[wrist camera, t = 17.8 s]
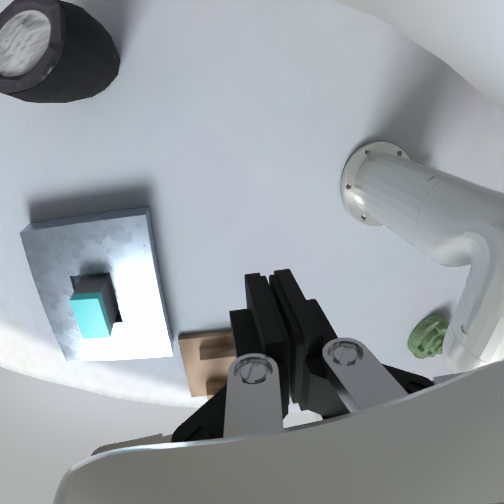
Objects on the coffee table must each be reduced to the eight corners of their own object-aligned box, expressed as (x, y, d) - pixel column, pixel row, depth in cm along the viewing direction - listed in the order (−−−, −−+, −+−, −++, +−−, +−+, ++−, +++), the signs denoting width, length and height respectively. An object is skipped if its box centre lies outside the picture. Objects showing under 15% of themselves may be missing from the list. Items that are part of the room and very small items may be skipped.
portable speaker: (50, 94, 31) (-43, 94, 14) (78, 27, 28) (3, -20, 11) (106, 111, 34) (35, 115, 16) (136, 42, 31) (91, -12, 13)
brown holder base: (253, 327, 51) (258, 343, 47) (255, 385, 57) (260, 400, 53) (178, 335, 49) (178, 352, 45) (191, 392, 55) (192, 409, 51)
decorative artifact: (449, 313, 60) (419, 313, 58) (468, 331, 54) (439, 334, 51) (430, 349, 64) (400, 352, 62) (446, 368, 58) (416, 373, 55)
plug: (110, 267, 42) (98, 298, 35) (119, 303, 45) (110, 337, 38) (85, 270, 42) (69, 300, 35) (95, 305, 44) (83, 338, 37)
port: (149, 206, 40) (145, 214, 37) (173, 341, 49) (172, 355, 46) (30, 223, 37) (19, 232, 34) (71, 347, 47) (66, 361, 43)
